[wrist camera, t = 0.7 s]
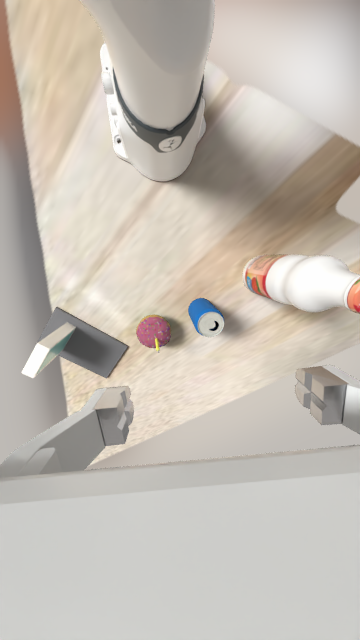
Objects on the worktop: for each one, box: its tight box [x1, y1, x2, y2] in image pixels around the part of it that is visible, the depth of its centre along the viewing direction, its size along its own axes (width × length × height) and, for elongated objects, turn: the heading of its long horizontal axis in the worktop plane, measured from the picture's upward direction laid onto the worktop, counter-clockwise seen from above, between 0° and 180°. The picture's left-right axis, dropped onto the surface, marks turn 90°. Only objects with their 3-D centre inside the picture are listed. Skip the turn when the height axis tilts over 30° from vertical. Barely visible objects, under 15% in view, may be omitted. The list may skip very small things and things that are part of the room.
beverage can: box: [188, 298, 224, 337], centre depth 44 cm, size 6×6×12 cm
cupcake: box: [136, 315, 171, 353], centre depth 45 cm, size 9×8×12 cm
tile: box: [22, 322, 76, 378], centre depth 43 cm, size 2×8×12 cm, turn 145°
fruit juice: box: [242, 254, 360, 313], centre depth 35 cm, size 9×9×28 cm
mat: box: [36, 307, 128, 378], centre depth 50 cm, size 20×12×1 cm, turn 55°
